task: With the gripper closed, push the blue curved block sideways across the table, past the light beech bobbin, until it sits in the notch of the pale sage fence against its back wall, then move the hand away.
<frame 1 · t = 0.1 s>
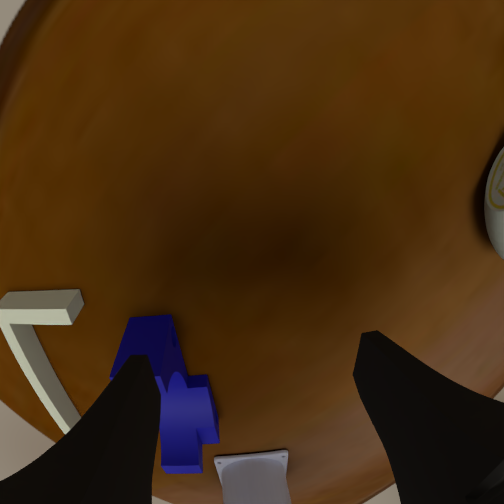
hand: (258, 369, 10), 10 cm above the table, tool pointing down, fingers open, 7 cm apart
notched fence: (89, 376, 22), on the table
blue curved block: (179, 373, 23), on the table
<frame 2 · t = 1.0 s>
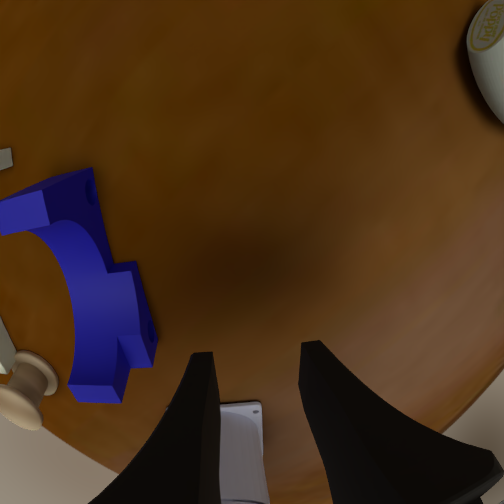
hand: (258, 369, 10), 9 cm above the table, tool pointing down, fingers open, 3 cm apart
air freshener: (493, 65, 15), on the table
bobbin: (35, 371, 21), on the table
notched fence: (14, 272, 17), on the table
blue curved block: (104, 262, 18), on the table
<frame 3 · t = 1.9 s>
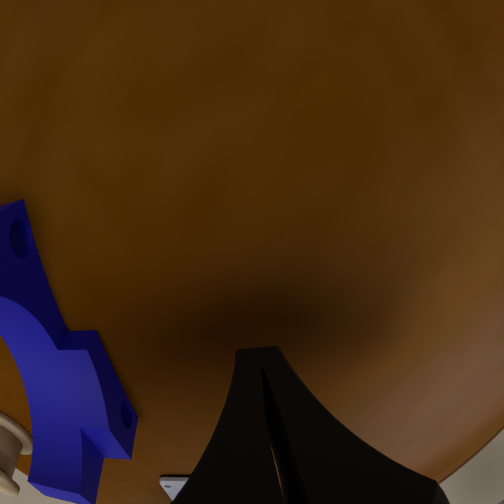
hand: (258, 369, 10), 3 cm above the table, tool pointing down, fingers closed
bobbin: (7, 429, 15), on the table
blue curved block: (58, 327, 12), on the table
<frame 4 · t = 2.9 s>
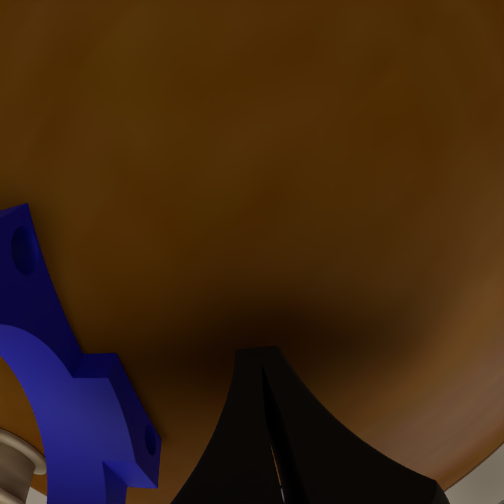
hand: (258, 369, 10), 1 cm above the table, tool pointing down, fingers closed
bobbin: (18, 448, 13), on the table
blue curved block: (70, 348, 11), on the table
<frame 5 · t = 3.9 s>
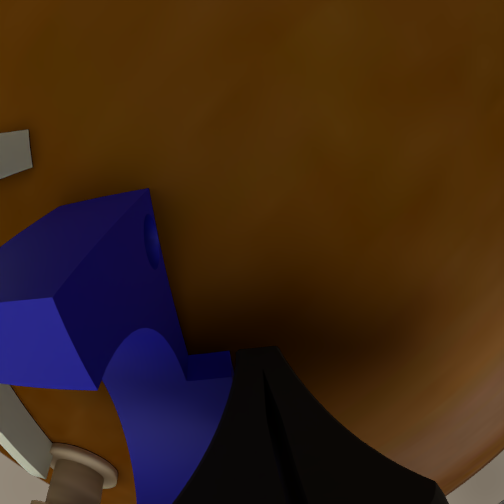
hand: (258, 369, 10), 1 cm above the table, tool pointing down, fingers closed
bobbin: (81, 463, 14), on the table
notched fence: (43, 355, 10), on the table
blue curved block: (169, 350, 11), on the table, touching gripper
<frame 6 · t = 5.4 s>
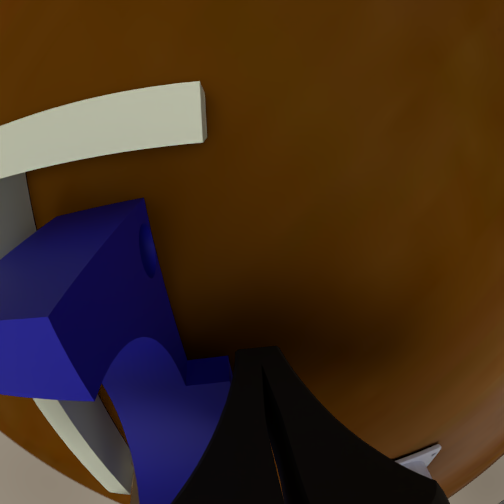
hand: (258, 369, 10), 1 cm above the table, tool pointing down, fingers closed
notched fence: (166, 356, 11), on the table
blue curved block: (168, 355, 11), on the table
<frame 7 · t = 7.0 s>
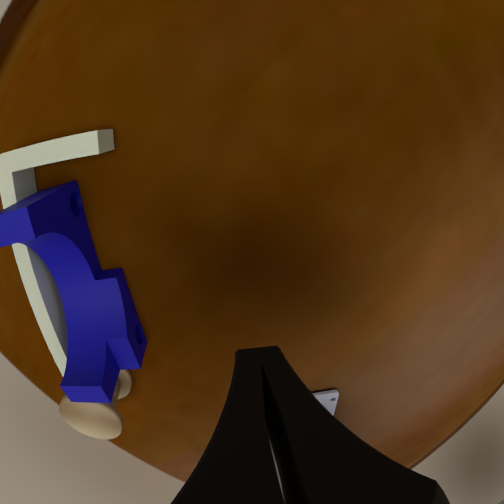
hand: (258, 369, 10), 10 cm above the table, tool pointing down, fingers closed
bobbin: (104, 374, 22), on the table
notched fence: (99, 267, 18), on the table
blue curved block: (93, 269, 19), on the table
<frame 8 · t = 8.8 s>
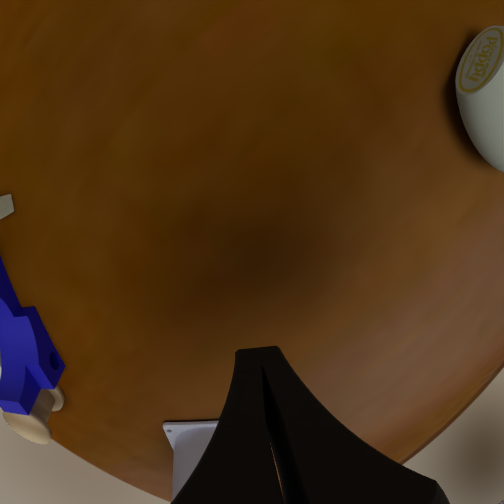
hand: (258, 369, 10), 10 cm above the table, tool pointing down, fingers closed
air freshener: (484, 97, 16), on the table
bobbin: (42, 389, 22), on the table
blue curved block: (17, 306, 19), on the table
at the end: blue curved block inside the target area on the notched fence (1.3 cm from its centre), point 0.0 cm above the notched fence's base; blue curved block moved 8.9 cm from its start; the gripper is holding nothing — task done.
